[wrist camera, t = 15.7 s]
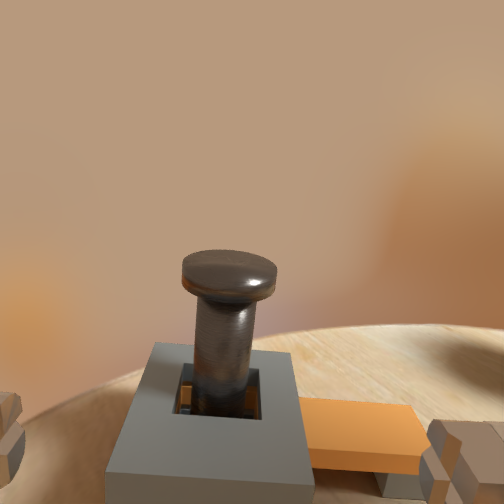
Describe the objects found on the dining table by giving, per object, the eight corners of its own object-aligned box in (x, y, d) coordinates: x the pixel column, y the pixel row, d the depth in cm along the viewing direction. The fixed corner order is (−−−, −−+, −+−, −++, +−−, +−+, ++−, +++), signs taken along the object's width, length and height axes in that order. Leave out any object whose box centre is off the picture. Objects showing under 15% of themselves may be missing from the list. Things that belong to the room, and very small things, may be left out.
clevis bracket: (389, 419, 35) (403, 361, 33) (462, 573, 23) (489, 496, 22) (153, 402, 34) (155, 342, 33) (105, 553, 22) (105, 471, 21)
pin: (252, 430, 32) (274, 253, 28) (254, 492, 27) (281, 286, 23) (178, 425, 32) (188, 246, 28) (165, 487, 27) (175, 277, 22)
